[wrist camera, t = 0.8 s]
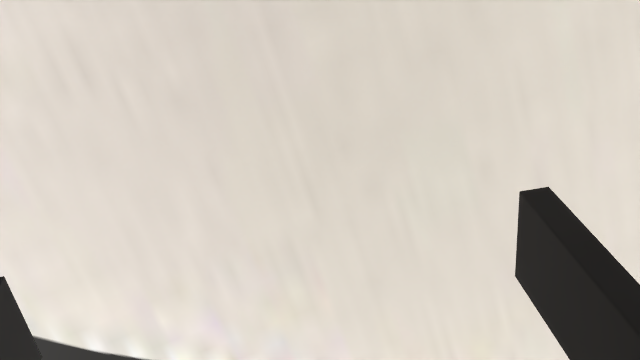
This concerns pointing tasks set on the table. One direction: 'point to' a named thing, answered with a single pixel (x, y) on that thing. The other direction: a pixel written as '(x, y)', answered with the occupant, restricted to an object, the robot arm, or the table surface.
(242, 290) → the table surface
